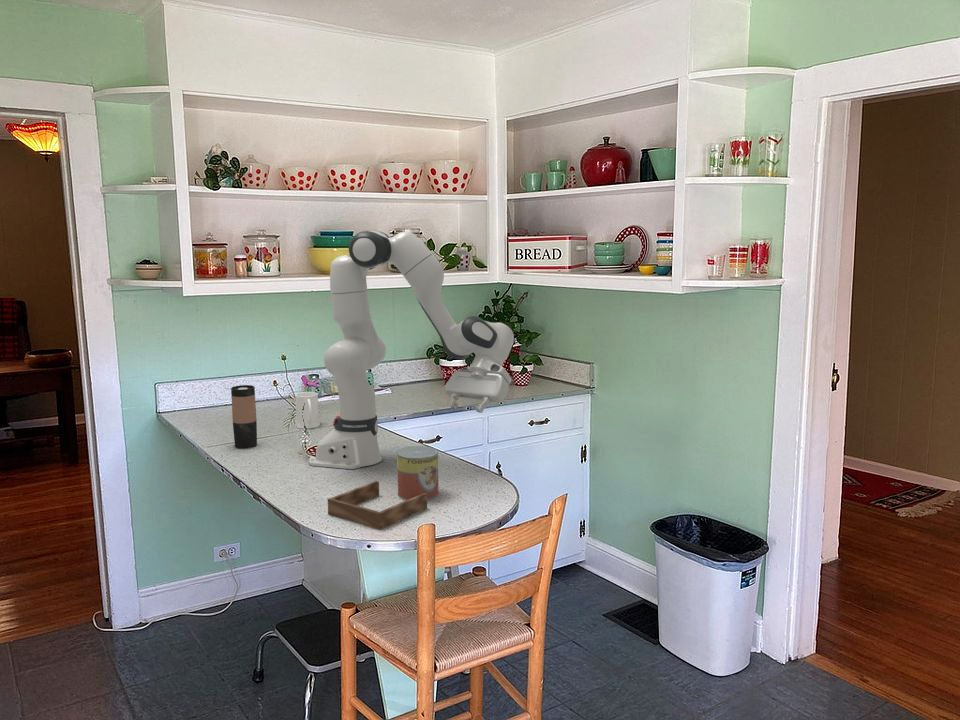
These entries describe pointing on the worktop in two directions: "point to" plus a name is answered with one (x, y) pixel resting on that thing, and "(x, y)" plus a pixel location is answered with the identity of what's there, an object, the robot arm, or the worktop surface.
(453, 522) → the worktop surface
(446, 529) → the worktop surface
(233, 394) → the travel mug
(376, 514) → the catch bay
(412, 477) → the canned food
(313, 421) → the mug
